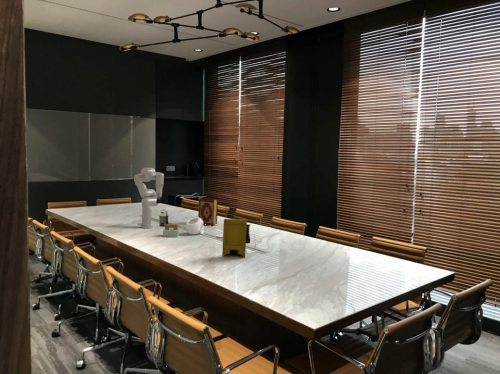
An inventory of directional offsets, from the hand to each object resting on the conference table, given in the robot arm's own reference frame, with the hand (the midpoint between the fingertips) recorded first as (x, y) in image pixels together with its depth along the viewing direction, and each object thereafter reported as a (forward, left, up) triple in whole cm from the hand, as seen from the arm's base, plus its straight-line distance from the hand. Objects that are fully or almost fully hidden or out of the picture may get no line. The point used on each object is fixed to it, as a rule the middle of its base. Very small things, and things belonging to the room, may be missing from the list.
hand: (158, 202), depth 383 cm
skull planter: (+37, -5, -30) cm, 48 cm away
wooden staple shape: (+15, -19, -23) cm, 34 cm away
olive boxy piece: (+74, -84, -30) cm, 116 cm away
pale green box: (+15, -18, -29) cm, 37 cm away
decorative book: (+47, +49, -30) cm, 74 cm away
